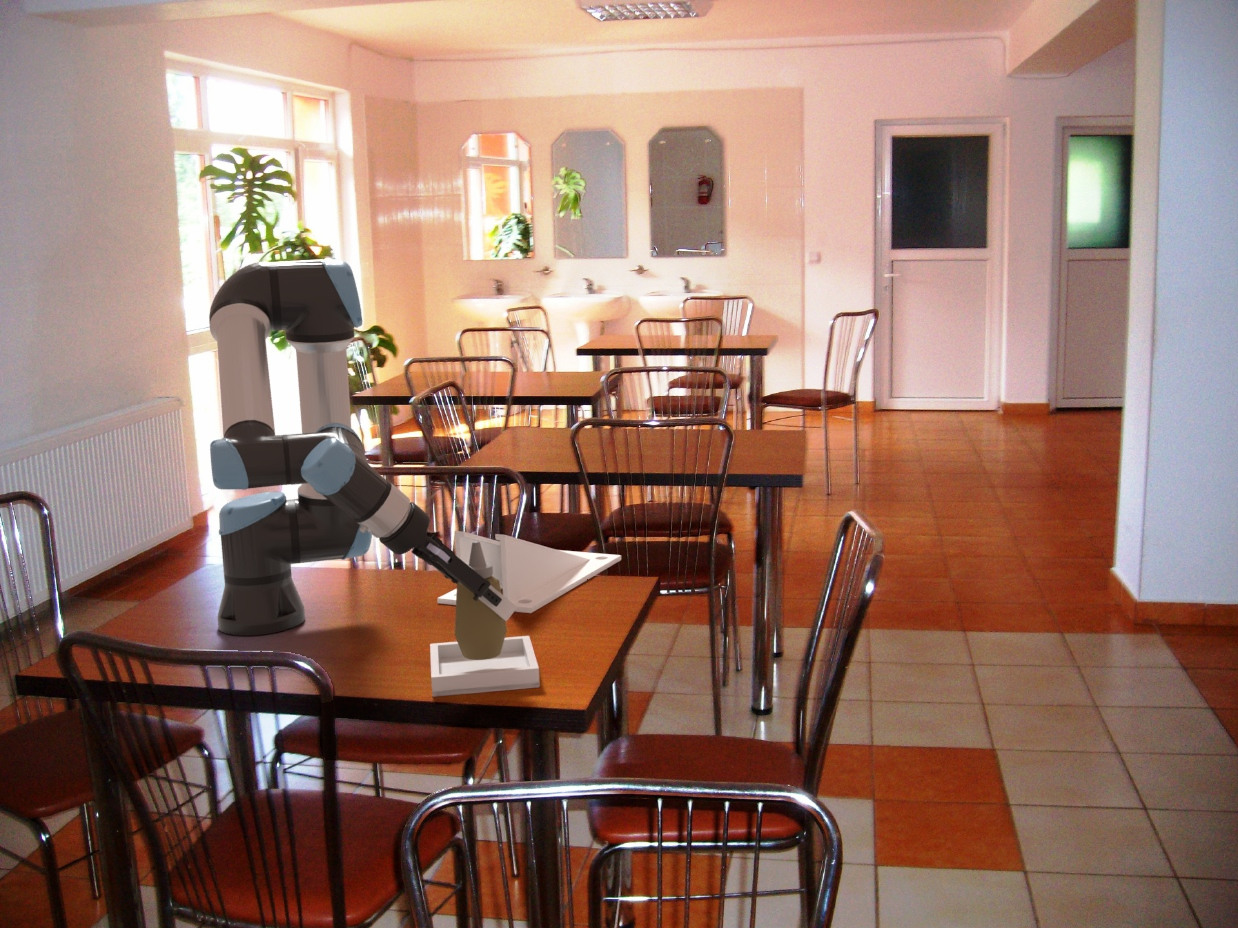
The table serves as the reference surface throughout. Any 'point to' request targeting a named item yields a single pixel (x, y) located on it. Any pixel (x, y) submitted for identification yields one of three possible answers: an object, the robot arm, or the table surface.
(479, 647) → the squeeze bottle
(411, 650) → the table surface
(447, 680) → the tray
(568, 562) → the white bracket
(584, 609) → the table surface
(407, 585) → the table surface
